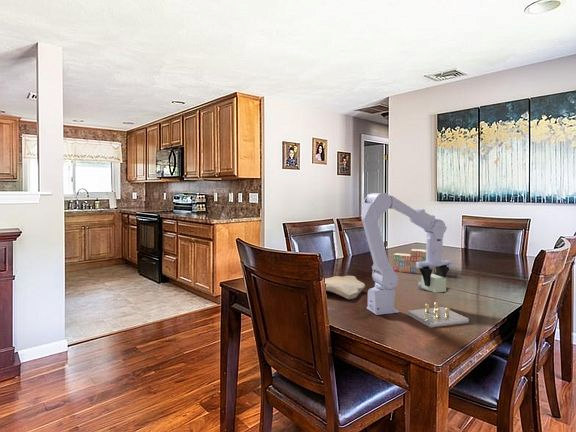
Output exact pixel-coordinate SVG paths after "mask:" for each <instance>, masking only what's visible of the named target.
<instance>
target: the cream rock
mask: <svg viewBox="0 0 576 432" xmlns="http://www.w3.org/2000/svg"><path fill="white" fill-rule="evenodd" d="M325 284H326V290H325V291H326V292H330V293H333V294H336V295H338V296H340V297H343V298H344V299H347V300H355V299H356V298H357V297H358V296H359V294H360V293H362V291H363V290H364V289H365V288H366V285H365V283H364V282H362V281H360V280H358V279H357V277H356V276H354V275H344V276H338V275H337V276H331V277H328V278H327V277H326V278H325ZM354 298H355V299H354Z"/></svg>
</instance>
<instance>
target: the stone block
mask: <svg viewBox="0 0 576 432" xmlns="http://www.w3.org/2000/svg"><path fill="white" fill-rule="evenodd" d="M417 288H418V290H420V291H427V292H432V291H430V290H427V289H425V288H422V287H421V281H418V286H417ZM432 293H433V292H432Z"/></svg>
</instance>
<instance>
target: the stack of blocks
mask: <svg viewBox="0 0 576 432" xmlns="http://www.w3.org/2000/svg"><path fill="white" fill-rule="evenodd" d="M422 261H426V249H419V248H411V250H410V254H409V253H401V252H400V253H397V252H395V253H394V254H393V262H392V263H393V266H392V267H393V270H394V272H400V273H411V274H419V275H420V274H421V272H420V270H419V268H417V267H416V262H422ZM429 268H430V269H431V270H432V273H431V274H435V275H436V267H429ZM421 275H422V274H421Z"/></svg>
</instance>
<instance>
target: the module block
mask: <svg viewBox="0 0 576 432" xmlns="http://www.w3.org/2000/svg"><path fill="white" fill-rule="evenodd" d="M420 282H421V287H422V288H425V289H427V290H430V291H429V292H431V291H432V293H443V292H447V278H446V277H445V278H444V277H441V276H438V275H437V274H436V273H435V274H431V278H430V287H428V286H425V283H424V279H423V276H422V275H421V281H420Z"/></svg>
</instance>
